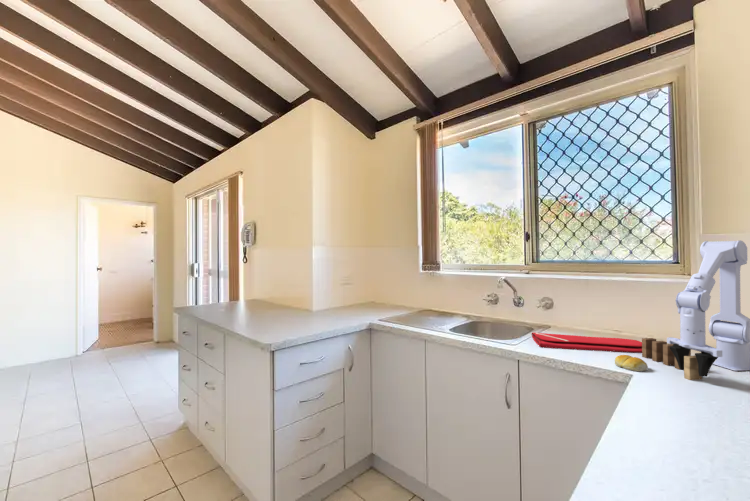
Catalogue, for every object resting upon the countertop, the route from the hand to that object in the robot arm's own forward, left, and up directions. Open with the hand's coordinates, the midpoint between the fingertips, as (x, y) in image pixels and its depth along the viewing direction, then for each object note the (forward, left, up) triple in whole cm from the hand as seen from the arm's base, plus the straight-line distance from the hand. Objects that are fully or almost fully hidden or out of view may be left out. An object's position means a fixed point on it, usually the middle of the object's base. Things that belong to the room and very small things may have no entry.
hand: (692, 372), depth 103 cm
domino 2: (-6, -16, -2) cm, 17 cm away
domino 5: (0, 0, -2) cm, 2 cm away
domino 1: (-6, -20, -2) cm, 21 cm away
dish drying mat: (+5, -37, -3) cm, 38 cm away
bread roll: (+10, -12, -2) cm, 16 cm away
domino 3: (-6, -12, -2) cm, 14 cm away
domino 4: (-6, -8, -2) cm, 10 cm away
